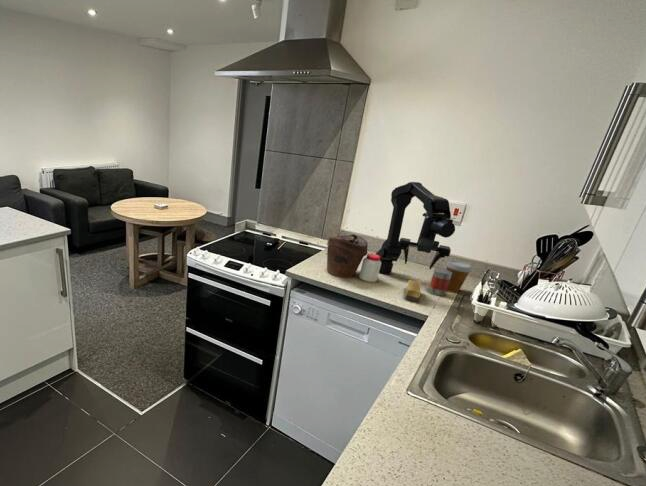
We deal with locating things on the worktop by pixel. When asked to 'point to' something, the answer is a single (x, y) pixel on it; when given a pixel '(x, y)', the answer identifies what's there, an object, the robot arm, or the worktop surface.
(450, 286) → the disposable coffee cup
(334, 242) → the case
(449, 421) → the worktop surface
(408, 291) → the golden brown bar
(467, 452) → the worktop surface
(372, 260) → the pill bottle
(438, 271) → the tin can
